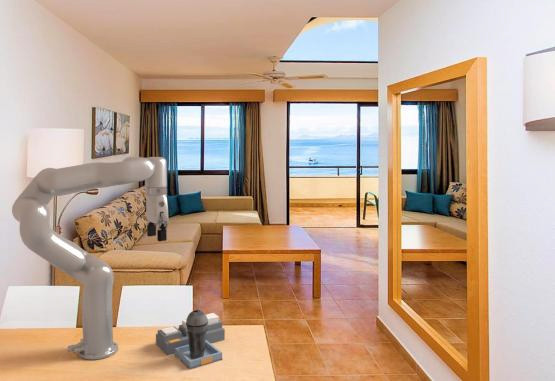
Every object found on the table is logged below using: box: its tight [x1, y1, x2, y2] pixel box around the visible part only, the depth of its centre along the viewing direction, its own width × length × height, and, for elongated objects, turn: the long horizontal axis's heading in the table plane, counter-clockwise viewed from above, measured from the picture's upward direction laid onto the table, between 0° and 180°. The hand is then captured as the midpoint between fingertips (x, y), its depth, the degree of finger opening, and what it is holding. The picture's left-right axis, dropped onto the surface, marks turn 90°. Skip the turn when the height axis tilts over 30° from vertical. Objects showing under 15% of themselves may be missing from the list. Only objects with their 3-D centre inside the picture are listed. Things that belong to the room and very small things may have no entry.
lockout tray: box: [174, 340, 223, 370], centre depth 155 cm, size 12×12×2 cm
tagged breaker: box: [160, 326, 178, 336], centre depth 162 cm, size 4×4×2 cm
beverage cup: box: [186, 296, 208, 359], centre depth 154 cm, size 7×7×20 cm
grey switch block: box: [155, 312, 226, 356], centre depth 167 cm, size 22×10×8 cm, turn 126°
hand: (156, 238), depth 169 cm, fingers open, 9 cm apart
